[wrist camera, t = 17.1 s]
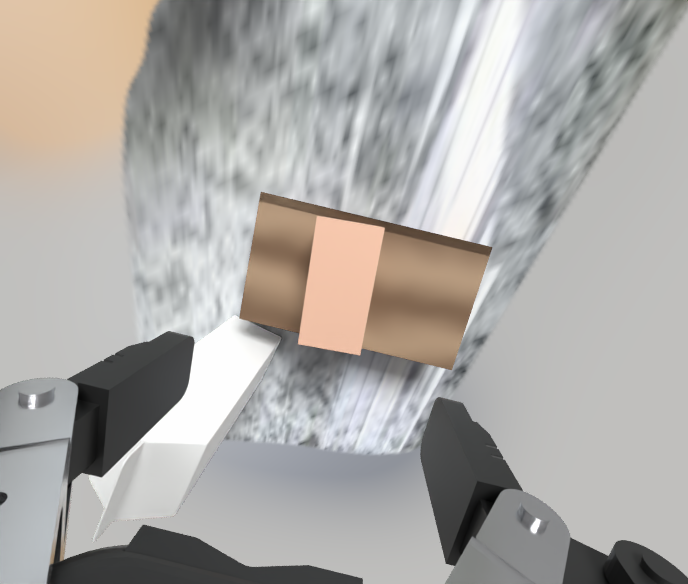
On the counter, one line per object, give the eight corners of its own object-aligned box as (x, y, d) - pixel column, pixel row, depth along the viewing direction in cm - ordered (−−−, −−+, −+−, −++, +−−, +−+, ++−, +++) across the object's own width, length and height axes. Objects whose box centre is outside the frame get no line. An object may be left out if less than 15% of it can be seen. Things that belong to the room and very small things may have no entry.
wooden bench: (278, 196, 35) (260, 191, 29) (469, 242, 35) (492, 247, 29) (259, 302, 38) (239, 318, 31) (437, 345, 37) (451, 370, 31)
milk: (216, 357, 39) (36, 522, 18) (235, 313, 38) (65, 434, 17) (263, 379, 40) (140, 569, 18) (283, 336, 38) (177, 486, 17)
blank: (324, 216, 29) (316, 216, 24) (381, 226, 29) (384, 228, 24) (308, 324, 31) (297, 344, 26) (360, 334, 31) (360, 355, 26)
